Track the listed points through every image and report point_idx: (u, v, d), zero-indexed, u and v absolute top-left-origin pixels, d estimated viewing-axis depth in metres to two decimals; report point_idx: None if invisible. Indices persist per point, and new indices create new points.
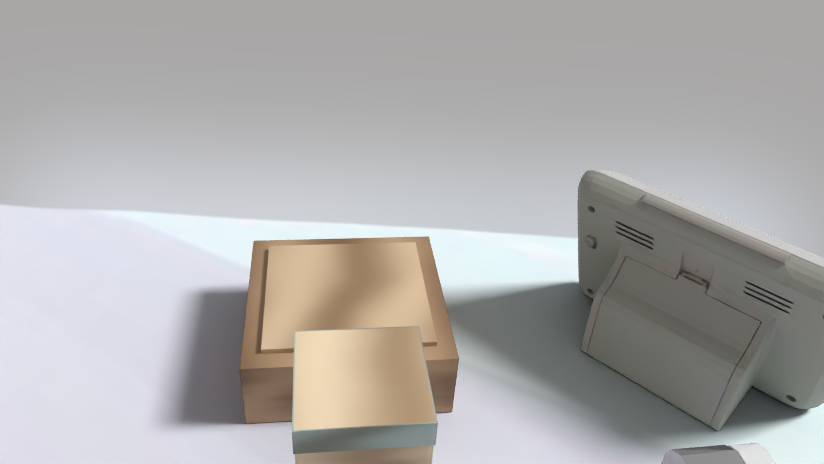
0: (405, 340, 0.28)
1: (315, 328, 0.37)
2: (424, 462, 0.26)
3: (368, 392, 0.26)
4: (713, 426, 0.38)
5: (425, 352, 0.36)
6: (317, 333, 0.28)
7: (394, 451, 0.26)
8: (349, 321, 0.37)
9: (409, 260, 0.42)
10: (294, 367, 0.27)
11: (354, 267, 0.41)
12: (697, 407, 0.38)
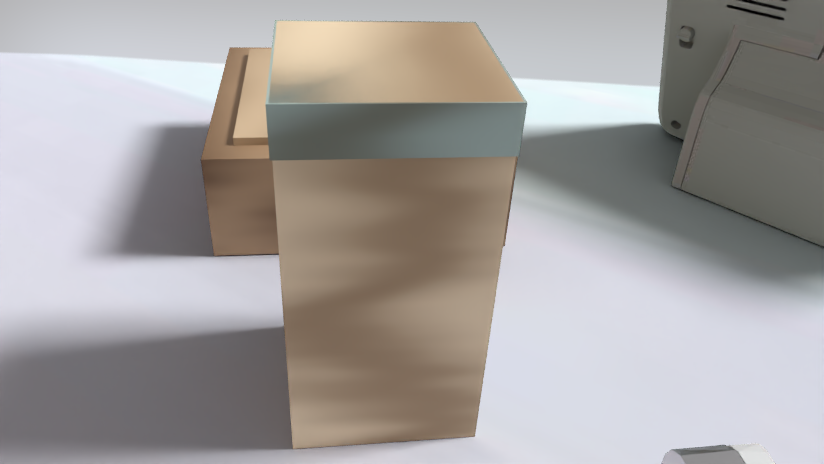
0: (456, 31, 0.17)
1: None
2: (497, 197, 0.15)
3: (400, 72, 0.15)
4: None
5: None
6: (313, 25, 0.18)
7: (449, 167, 0.15)
8: None
9: None
10: (273, 48, 0.16)
11: None
12: None
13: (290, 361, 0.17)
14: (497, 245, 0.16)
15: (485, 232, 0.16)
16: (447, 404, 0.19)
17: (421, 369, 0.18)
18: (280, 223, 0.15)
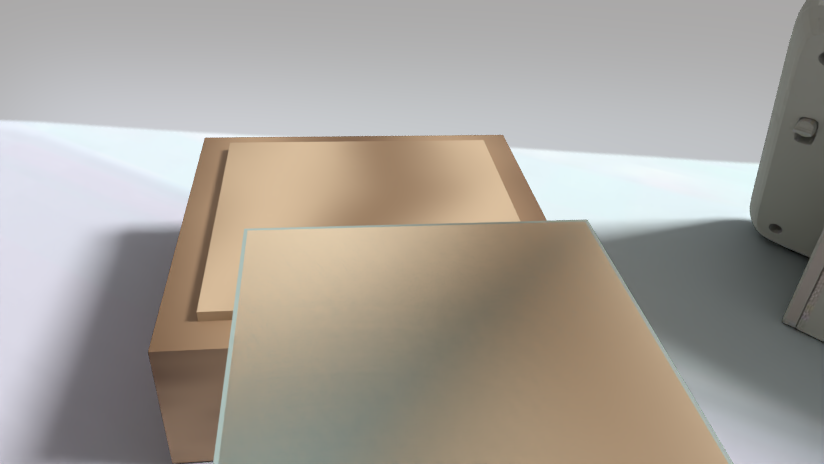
0: (561, 251, 0.10)
1: None
2: None
3: (484, 403, 0.07)
4: None
5: None
6: (310, 235, 0.10)
7: None
8: None
9: (477, 165, 0.24)
10: (234, 324, 0.08)
11: (381, 174, 0.23)
12: None
13: None
14: None
15: None
16: None
17: None
18: None
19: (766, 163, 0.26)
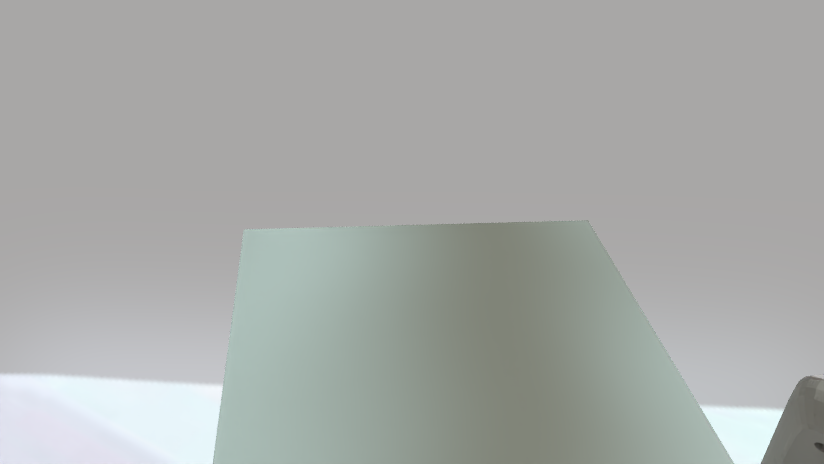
0: (563, 252, 0.10)
1: None
2: None
3: (484, 405, 0.07)
4: None
5: None
6: (310, 236, 0.10)
7: None
8: None
9: None
10: (234, 325, 0.08)
11: None
12: None
13: None
14: None
15: None
16: None
17: None
18: None
19: None
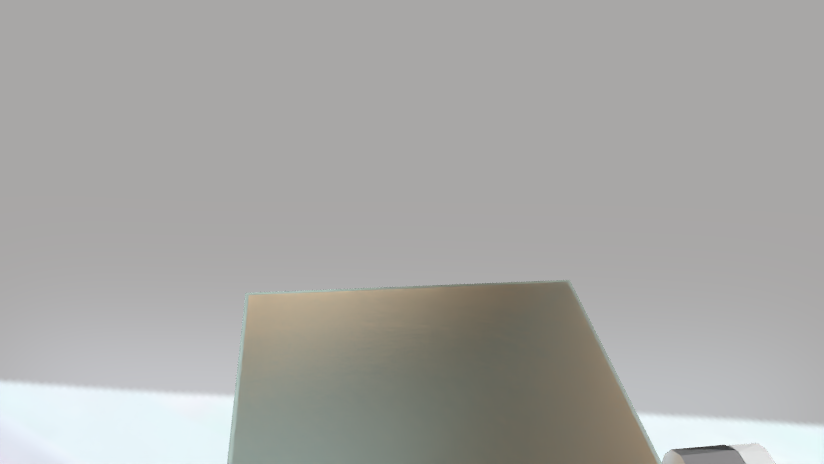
0: (544, 314, 0.11)
1: None
2: None
3: None
4: None
5: None
6: (308, 298, 0.11)
7: None
8: None
9: None
10: (237, 393, 0.09)
11: None
12: None
13: None
14: None
15: None
16: None
17: None
18: None
19: None
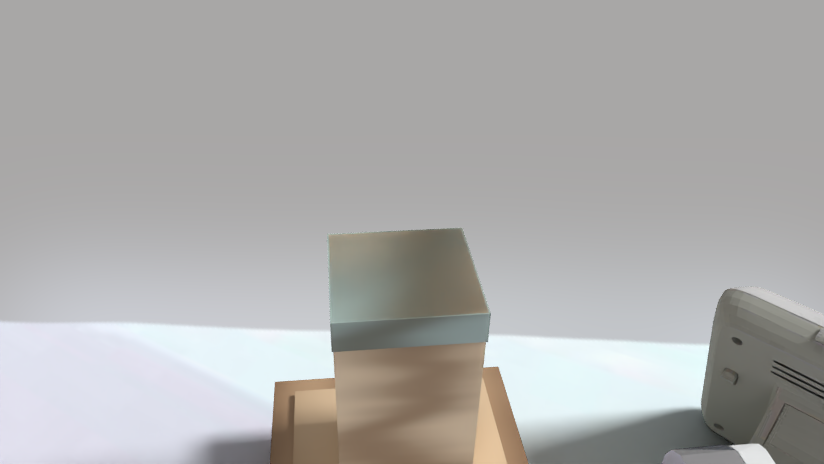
0: (448, 240, 0.26)
1: None
2: (475, 364, 0.24)
3: (411, 287, 0.23)
4: None
5: None
6: (352, 236, 0.26)
7: (443, 349, 0.23)
8: None
9: None
10: (329, 266, 0.24)
11: None
12: None
13: None
14: (477, 390, 0.24)
15: (468, 384, 0.24)
16: None
17: None
18: (337, 385, 0.23)
19: (707, 386, 0.34)
